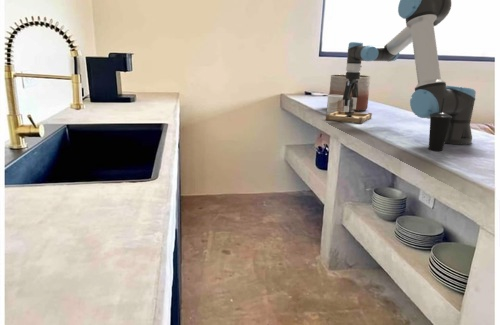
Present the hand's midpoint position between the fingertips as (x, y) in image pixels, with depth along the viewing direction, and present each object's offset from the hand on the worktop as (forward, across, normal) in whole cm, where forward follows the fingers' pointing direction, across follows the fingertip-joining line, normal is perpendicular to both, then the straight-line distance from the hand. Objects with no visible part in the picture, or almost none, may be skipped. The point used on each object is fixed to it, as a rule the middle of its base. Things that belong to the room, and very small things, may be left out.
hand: (349, 110), depth 209 cm
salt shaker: (+4, 0, 0) cm, 4 cm away
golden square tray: (+5, 0, 0) cm, 5 cm away
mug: (+5, +17, +14) cm, 23 cm away
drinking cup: (+5, -49, -50) cm, 70 cm away
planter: (+5, +38, +13) cm, 41 cm away
